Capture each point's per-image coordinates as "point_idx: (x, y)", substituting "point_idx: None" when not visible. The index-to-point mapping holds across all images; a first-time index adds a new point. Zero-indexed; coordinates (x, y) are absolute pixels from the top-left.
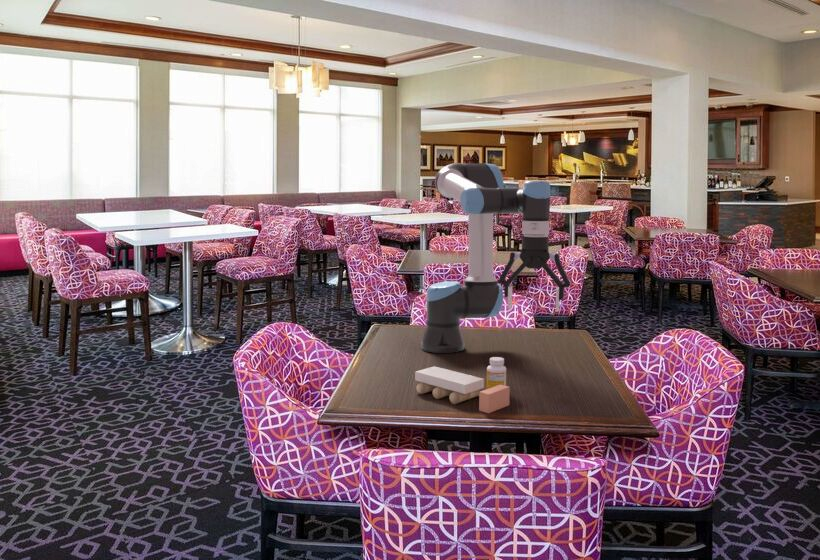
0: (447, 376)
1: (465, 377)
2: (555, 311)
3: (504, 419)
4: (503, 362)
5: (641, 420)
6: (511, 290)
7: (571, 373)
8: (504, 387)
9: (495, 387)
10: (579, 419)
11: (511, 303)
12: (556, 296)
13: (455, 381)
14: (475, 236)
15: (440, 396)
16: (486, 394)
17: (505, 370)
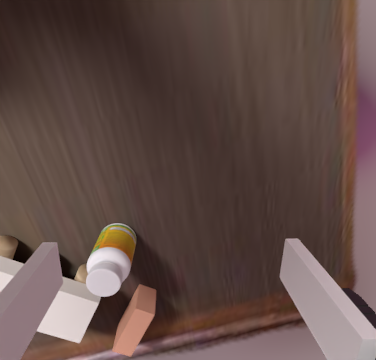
0: None
1: (61, 307)
2: (280, 278)
3: (162, 340)
4: (121, 281)
5: (349, 287)
6: (4, 349)
7: (257, 41)
8: (146, 320)
9: (131, 325)
10: (263, 309)
11: (48, 269)
12: (319, 342)
13: (54, 332)
14: None
15: None
16: (126, 354)
17: (129, 270)
